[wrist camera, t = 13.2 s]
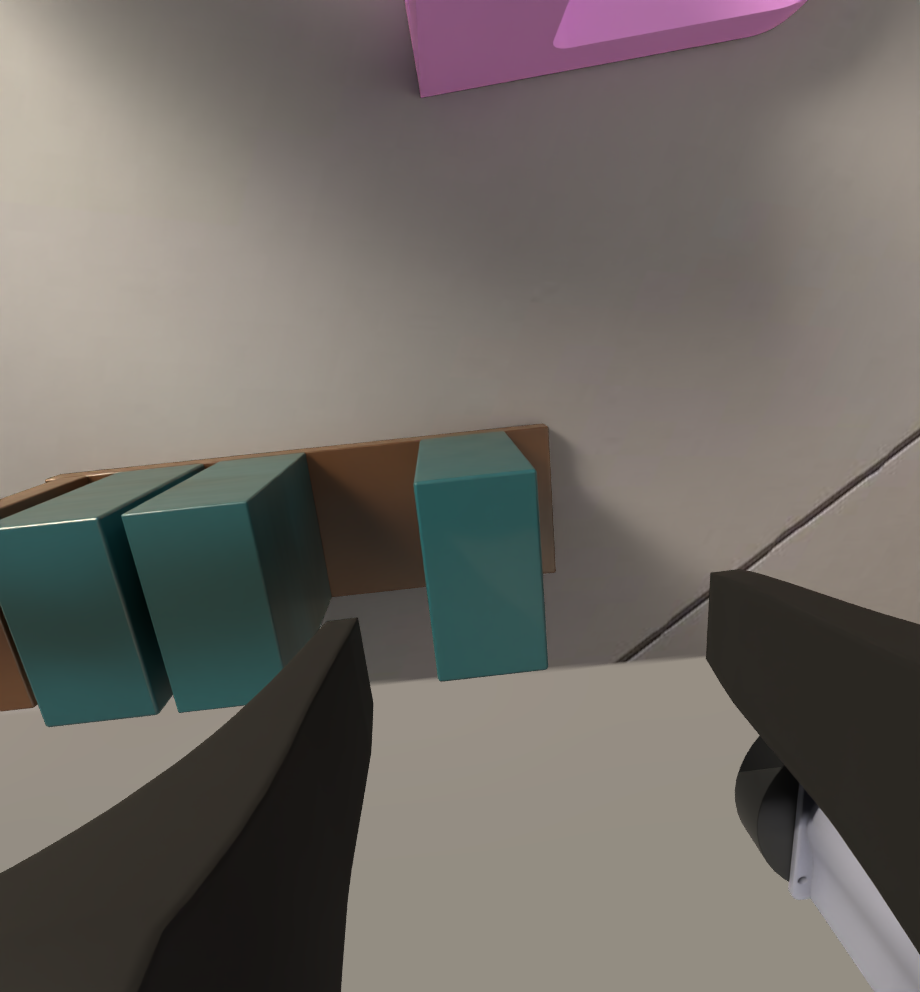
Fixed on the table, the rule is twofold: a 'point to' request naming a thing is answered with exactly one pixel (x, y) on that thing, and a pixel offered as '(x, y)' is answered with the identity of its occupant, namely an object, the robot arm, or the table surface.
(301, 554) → the rack
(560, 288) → the table surface
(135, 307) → the table surface
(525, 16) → the bracket
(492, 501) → the teal rectangular block
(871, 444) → the table surface
